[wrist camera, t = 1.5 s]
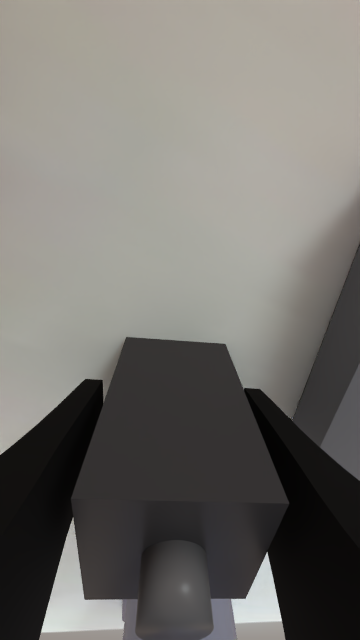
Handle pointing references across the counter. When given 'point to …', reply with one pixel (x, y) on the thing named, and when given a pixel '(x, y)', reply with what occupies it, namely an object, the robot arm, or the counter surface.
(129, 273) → the counter surface
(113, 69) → the counter surface
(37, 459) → the robot arm
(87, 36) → the counter surface
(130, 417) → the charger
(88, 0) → the counter surface
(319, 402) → the plate
